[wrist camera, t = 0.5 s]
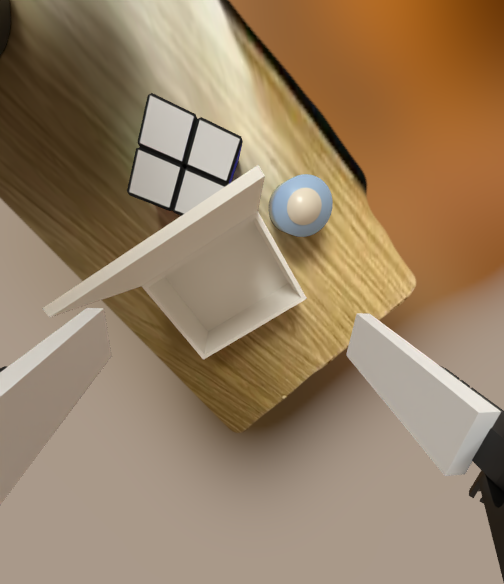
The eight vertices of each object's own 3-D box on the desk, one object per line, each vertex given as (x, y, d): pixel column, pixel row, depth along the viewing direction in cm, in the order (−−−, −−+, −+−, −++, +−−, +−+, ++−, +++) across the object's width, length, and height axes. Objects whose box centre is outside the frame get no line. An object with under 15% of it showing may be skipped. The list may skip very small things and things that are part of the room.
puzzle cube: (217, 224, 36) (213, 228, 27) (153, 198, 34) (124, 194, 25) (239, 157, 34) (244, 136, 24) (171, 125, 32) (147, 89, 22)
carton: (158, 271, 38) (141, 285, 31) (251, 211, 36) (257, 211, 29) (207, 334, 42) (203, 359, 35) (292, 283, 41) (306, 298, 33)
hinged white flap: (140, 286, 30) (137, 281, 30) (257, 211, 29) (254, 205, 29) (49, 317, 17) (42, 308, 16) (264, 175, 15) (258, 164, 15)
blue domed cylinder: (259, 198, 36) (264, 196, 30) (304, 169, 35) (317, 161, 30) (283, 242, 38) (292, 247, 33) (325, 216, 38) (342, 217, 32)
